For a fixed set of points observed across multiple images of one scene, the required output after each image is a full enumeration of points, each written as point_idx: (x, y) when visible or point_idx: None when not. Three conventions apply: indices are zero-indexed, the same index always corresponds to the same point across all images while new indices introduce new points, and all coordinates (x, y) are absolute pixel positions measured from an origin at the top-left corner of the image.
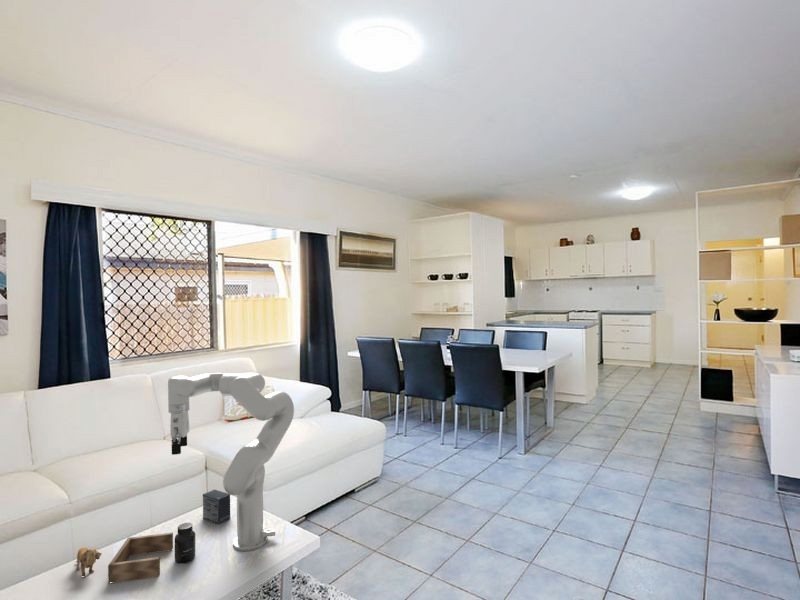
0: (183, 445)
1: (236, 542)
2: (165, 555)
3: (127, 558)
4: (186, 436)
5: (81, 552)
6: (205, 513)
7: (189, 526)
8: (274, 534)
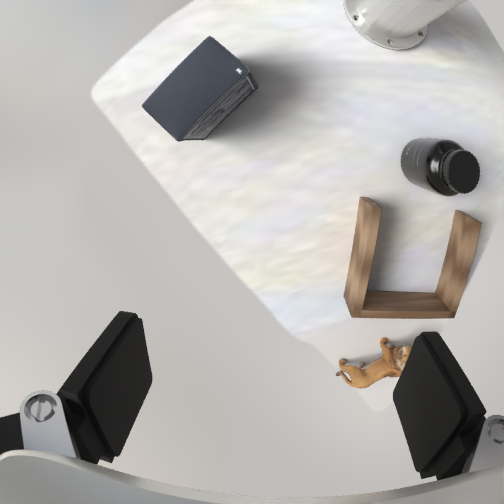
0: (143, 345)
1: (398, 40)
2: (386, 210)
3: (372, 292)
4: (80, 394)
5: (375, 381)
6: (208, 130)
7: (472, 158)
8: None
